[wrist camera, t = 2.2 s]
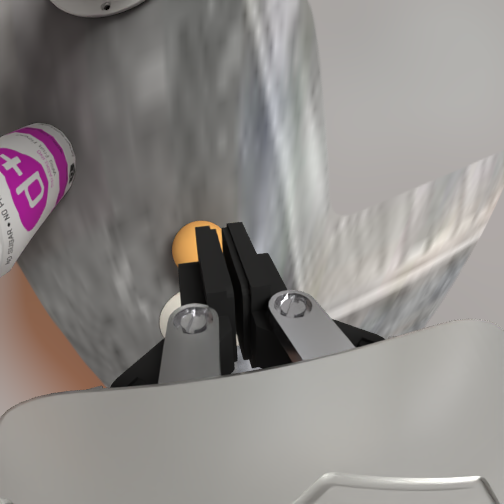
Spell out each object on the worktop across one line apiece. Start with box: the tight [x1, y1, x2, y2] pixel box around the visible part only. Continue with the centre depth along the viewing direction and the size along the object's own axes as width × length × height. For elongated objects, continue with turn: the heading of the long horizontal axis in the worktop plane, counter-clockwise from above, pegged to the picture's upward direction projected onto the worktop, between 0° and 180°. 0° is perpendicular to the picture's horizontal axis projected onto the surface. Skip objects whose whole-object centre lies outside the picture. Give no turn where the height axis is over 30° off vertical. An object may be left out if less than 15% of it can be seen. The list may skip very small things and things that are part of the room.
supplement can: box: [0, 123, 75, 277], centre depth 18 cm, size 8×8×15 cm
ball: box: [172, 221, 223, 267], centre depth 30 cm, size 6×6×6 cm
